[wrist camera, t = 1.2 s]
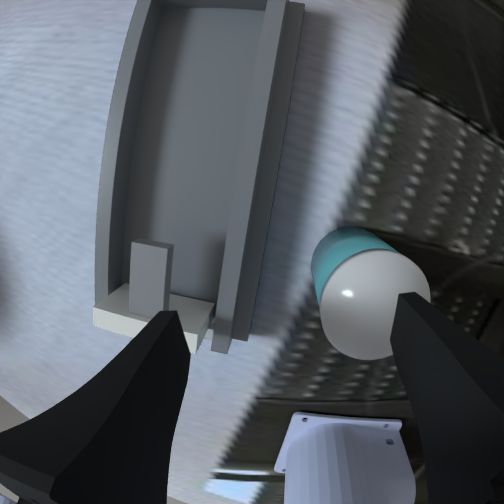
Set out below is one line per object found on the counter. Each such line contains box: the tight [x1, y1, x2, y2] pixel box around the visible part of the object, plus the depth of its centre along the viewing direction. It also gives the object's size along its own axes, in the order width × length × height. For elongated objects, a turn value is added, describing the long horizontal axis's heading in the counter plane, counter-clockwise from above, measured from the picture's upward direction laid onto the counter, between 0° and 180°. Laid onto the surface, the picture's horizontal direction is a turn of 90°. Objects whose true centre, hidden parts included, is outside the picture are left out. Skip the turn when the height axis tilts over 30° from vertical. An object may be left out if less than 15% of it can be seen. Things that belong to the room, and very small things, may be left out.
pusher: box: [93, 238, 215, 354], centre depth 18 cm, size 6×5×4 cm
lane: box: [95, 0, 305, 354], centre depth 17 cm, size 11×22×4 cm, turn 171°
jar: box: [311, 226, 430, 360], centre depth 17 cm, size 5×5×7 cm
